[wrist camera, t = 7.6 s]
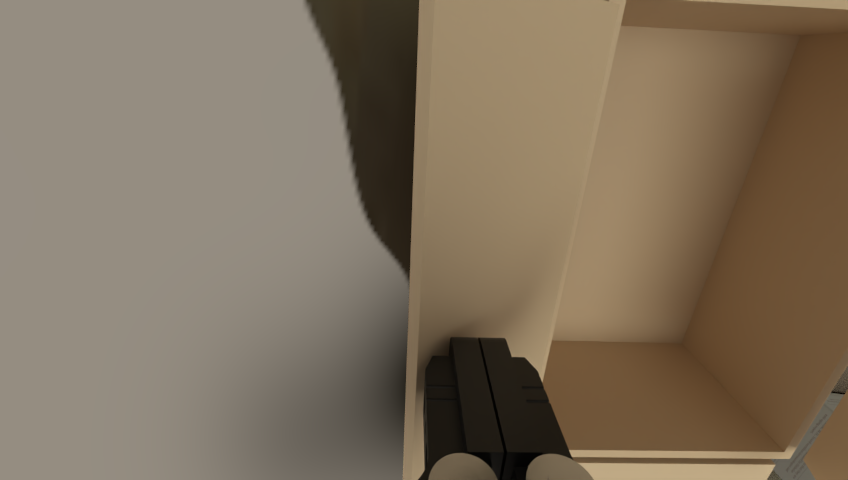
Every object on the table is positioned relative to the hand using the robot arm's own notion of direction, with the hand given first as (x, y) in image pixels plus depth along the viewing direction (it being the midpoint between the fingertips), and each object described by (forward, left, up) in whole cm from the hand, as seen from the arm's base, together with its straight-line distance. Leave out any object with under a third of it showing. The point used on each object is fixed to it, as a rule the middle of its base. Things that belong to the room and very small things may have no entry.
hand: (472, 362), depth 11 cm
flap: (-1, 0, -2) cm, 2 cm away
